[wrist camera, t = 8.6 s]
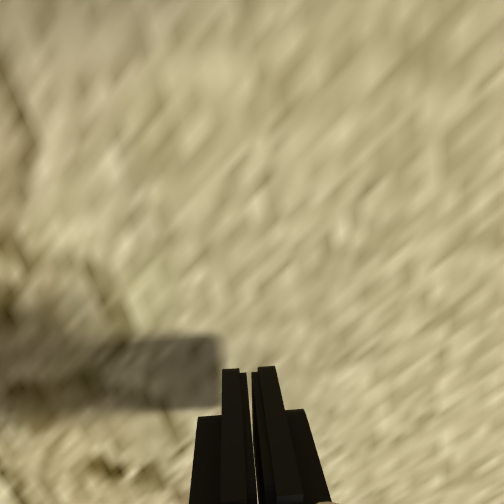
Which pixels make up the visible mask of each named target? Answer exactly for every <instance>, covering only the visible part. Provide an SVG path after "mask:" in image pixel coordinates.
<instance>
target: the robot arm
mask: <svg viewBox="0 0 504 504" xmlns="http://www.w3.org/2000/svg"><path fill="white" fill-rule="evenodd" d="M251 377H252V419H253V443H252V431H251V420H250V409H249V398H248V387H247V375H246V373H240V372H239V368H236V369H222V415H217V416H203V417H198V421H197V429H196V439H195V449H194V459H193V468H192V478H191V488H190V498H189V504H257V491H258V502H259V504H337V503H333V502H332V501H331V498H330V494H329V491H328V487H327V484H326V481H325V477H324V474H323V471H322V467H321V464H320V460H319V457H318V454H317V450H316V447H315V443H314V440H313V437H312V433H311V430H310V427H309V423H308V420H307V416H306V414H305V411H304V409H296V410H285V409H284V404H283V400H282V395H281V391H280V386H279V382H278V377H277V373H276V368H275V366H266V367H258V372H252V373H251ZM253 447H254V454H253ZM254 458H255V465H254ZM255 469H256V476H255ZM256 480H257V488H256Z"/></svg>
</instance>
